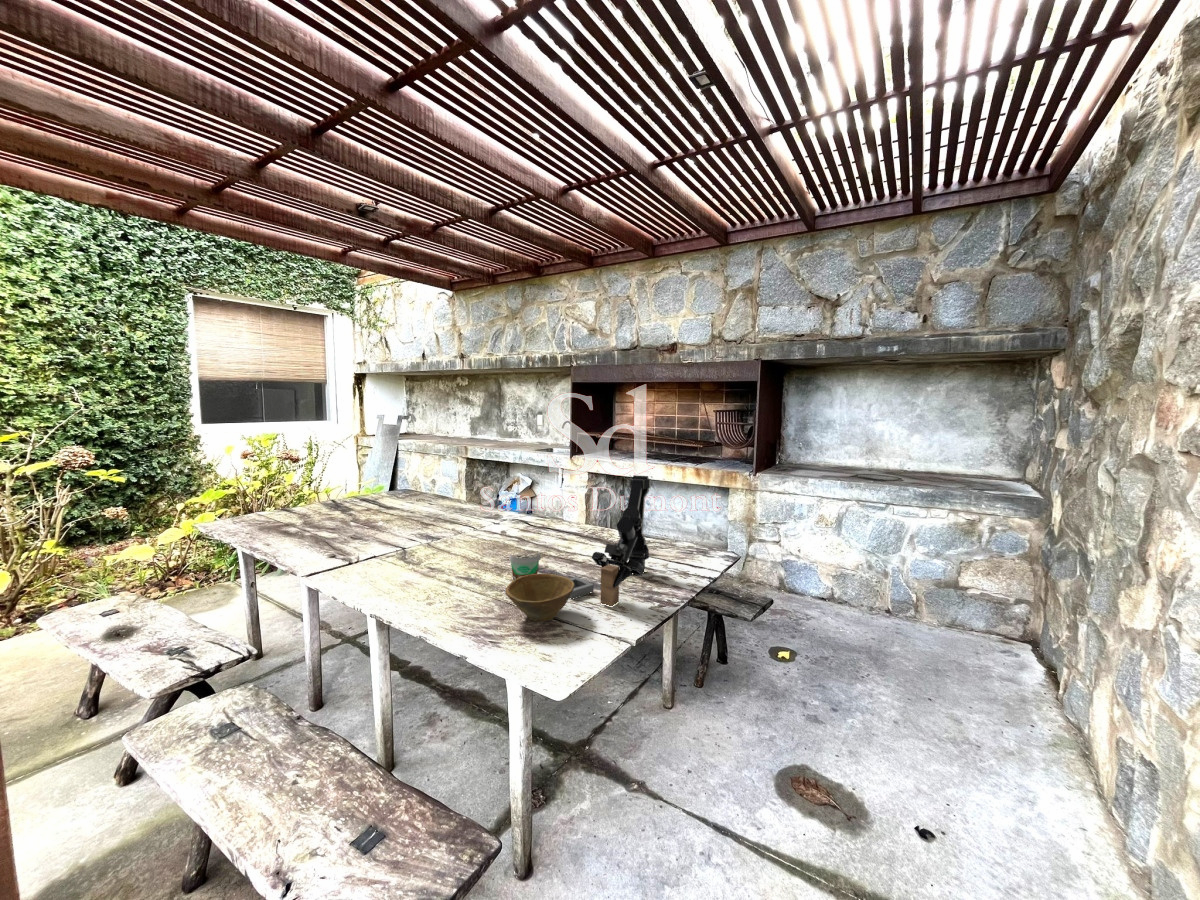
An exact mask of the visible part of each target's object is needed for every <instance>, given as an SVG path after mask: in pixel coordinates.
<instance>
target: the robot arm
mask: <svg viewBox="0 0 1200 900" xmlns="http://www.w3.org/2000/svg"><path fill="white" fill-rule="evenodd" d="M651 487H652V479H651V478H649V476H648V475H636V474H635V475H633V476H632V477H630V478H629V479H628V488H630V492H629V497H628V503H627V507H626V508H625V509H624V510H623V511H622V513H621V514H622V515H621V516H620V518H619V520H618V522H617V523H616V529H617V532H618V536H619V540H618V542H617V543H616V542H615V543H614V544H612V543H606V545H605V548H604V553H603V552H598V551H594V552H593V553H592V556H591V559H592V560H593V562H594V563H595V565H597V566H600V567H601V568H602V567H604V566H606V565H608V564H609V565H613V566H617V567H619V573H618V575H617V577H616V579H615V581H614V584H613V587H614V588H615V587H616V586H617V585H619V586H620V584H621V583H623V581H624V580H626V579H628V578H629V577H633V575H634V574H635V575H634V576H640V577H642V576H643V574H644V573H643V572H644V569H645V568H646V560H648V559H650V552H649V547H648V544H647V539H646V538H645V536H644V534H643V532H644V531H643V530H644V519H645V517H644V516H645V514H644V513H645V501H646V500H645V499H646V496H648V494H649V493H650V489H651ZM606 554H607V555H608V557H607V555H606ZM645 570H646V569H645ZM632 573H634V574H632Z"/></svg>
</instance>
